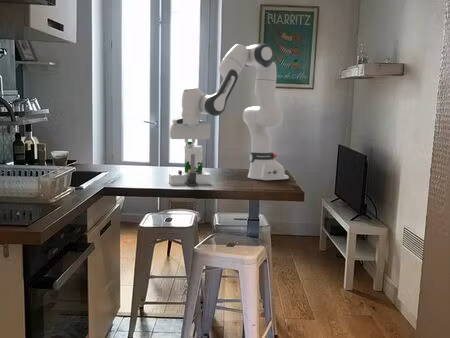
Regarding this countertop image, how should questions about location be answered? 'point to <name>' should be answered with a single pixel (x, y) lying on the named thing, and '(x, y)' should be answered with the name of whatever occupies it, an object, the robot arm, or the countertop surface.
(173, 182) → the breaker box
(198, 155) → the soya milk
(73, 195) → the countertop surface
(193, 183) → the grey stepped post
